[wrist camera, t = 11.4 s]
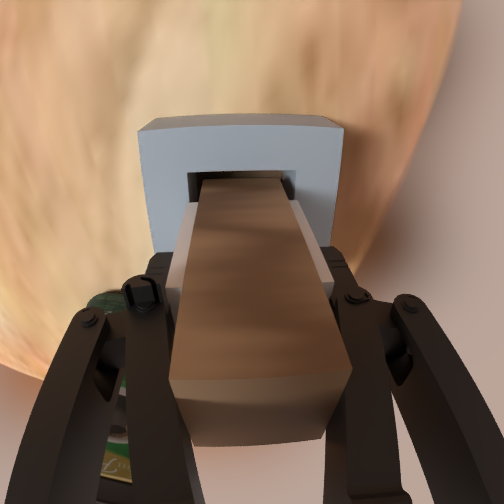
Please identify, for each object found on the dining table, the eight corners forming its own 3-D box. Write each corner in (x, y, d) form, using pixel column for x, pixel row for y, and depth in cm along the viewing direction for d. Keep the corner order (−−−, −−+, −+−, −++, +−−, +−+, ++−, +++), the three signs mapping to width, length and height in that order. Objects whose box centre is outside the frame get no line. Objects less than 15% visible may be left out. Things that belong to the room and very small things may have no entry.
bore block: (171, 258, 22) (162, 294, 19) (155, 118, 17) (137, 131, 14) (309, 254, 23) (322, 289, 20) (322, 116, 17) (344, 128, 14)
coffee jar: (91, 339, 27) (45, 518, 11) (88, 278, 23) (7, 501, 7) (185, 361, 29) (176, 549, 13) (202, 305, 25) (194, 549, 9)
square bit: (207, 244, 18) (194, 446, 8) (203, 179, 16) (168, 379, 6) (276, 242, 19) (320, 438, 9) (279, 177, 16) (352, 369, 6)
